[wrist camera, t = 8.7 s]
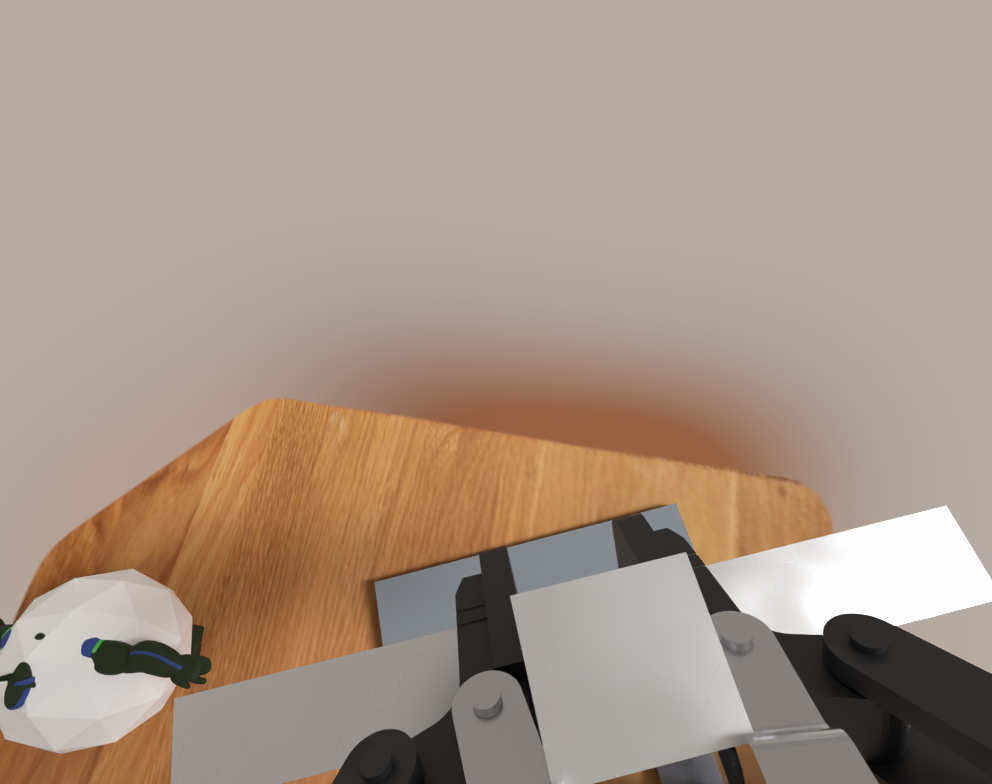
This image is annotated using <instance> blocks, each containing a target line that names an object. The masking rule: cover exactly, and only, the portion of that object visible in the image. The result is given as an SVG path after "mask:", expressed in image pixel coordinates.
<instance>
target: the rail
mask: <svg viewBox="0 0 992 784" xmlns="http://www.w3.org/2000/svg"><path fill="white" fill-rule="evenodd" d="M705 567H707V568H708V569H709V571H710V572H711V573H712V575H713V576H714V577H715V578H716V580H717V581H718V582H719V584H720V585H721V586H722V588H723V589H724V590H725V592H726V593H727V594H728V595H729V597H730V598H731V599H732V601H733V602H734V603H735V605H736V606H737V607H738V609H739V610H740V611H741V612H742V613H746V614H749V615H751V616H754V617H756V618H757V619H759V620H761V621H762V622H763V623H765V624H766V625H767V626H768V627H769V628H770V629H771V630H772V631H775V632H780V633H787V634H811V635H823V628H824V626H825V624H826V623H827V621H828V620H830V619H831V618H832V617H835V616H837V615H841V614H847V613H858V614H865V615H870V616H874V617H877V618H880V619H882V620H884V621H886V622H889V623H891V624H893V625H895V626H897V625H900V624H904V623H908V622H912V621H916V620H920V619H924V618H927V617H932V616H935V615H939V614H943V613H947V612H951V611H955V610H959V609H963V608H967V607H970V606H974V605H978V604H982V603H986V602H990V601H992V580H991V579H990V577H989V575H988V574H987V572H986V570H985V569H984V567H983V566H982V564H981V562H980V561H979V559H978V557H977V556H976V554H975V552H974V551H973V549H972V547H971V546H970V544H969V543H968V541H967V539H966V538H965V536H964V534H963V533H962V531H961V529H960V528H959V526H958V525H957V523H956V521H955V520H954V518H953V516H952V515H951V513H950V511H949V510H948V508H947V507H946V506H944V507H939V508H935V509H932V510H927V511H924V512H919V513H915V514H911V515H907V516H904V517H900V518H895V519H891V520H888V521H883V522H879V523H875V524H871V525H867V526H863V527H859V528H855V529H852V530H847V531H843V532H839V533H835V534H831V535H827V536H823V537H819V538H815V539H811V540H807V541H803V542H799V543H795V544H791V545H787V546H783V547H779V548H775V549H771V550H767V551H763V552H759V553H755V554H751V555H747V556H743V557H739V558H735V559H731V560H727V561H723V562H719V563H715V564H711V565H707V566H705ZM510 599H511V603H512V608H513V612H514V617H515V621H516V626H517V630H518V635H519V639H520V644H521V648H522V653H523V657H524V662H525V666H526V671H527V675H528V680H529V684H530V689H531V693H532V698H533V702H534V707H535V711H536V716H537V721H538V725H539V730H540V734H541V739H542V743H543V748H544V752H545V757H546V761H547V766H548V770H549V775H550V779H551V784H594V783H598V782H602V781H605V780H609V779H613V778H617V777H621V776H624V775H628V774H632V773H636V772H640V771H644V770H647V769H651V768H655V767H659V766H663V765H666V764H670V763H674V762H678V761H682V760H685V759H689V758H693V757H697V756H701V755H705V754H708V753H712V752H716V751H720V750H724V749H727V748H731V747H735V746H739V745H743V744H745V742H744V738H743V737H744V736H753V735H754V732H753V729H752V727H751V724H750V721H749V719H748V716H747V713H746V711H745V708H744V705H743V703H742V700H741V697H740V695H739V692H738V689H737V687H736V684H735V681H734V679H733V676H732V673H731V671H730V668H729V665H728V663H727V660H726V657H725V654H724V652H723V649H722V646H721V644H720V641H719V638H718V636H717V633H716V630H715V628H714V625H713V622H712V620H711V617H710V614H709V612H708V609H707V606H706V604H705V601H704V598H703V596H702V593H701V590H700V588H699V585H698V582H697V579H696V577H695V574H694V571H693V569H692V566H691V563H690V561H689V558H688V555H687V553H686V552H684V553H680V554H676V555H672V556H668V557H664V558H660V559H656V560H652V561H648V562H644V563H640V564H636V565H632V566H628V567H624V568H620V569H616V570H612V571H608V572H604V573H600V574H596V575H592V576H588V577H584V578H580V579H576V580H572V581H568V582H564V583H560V584H556V585H552V586H548V587H543V588H539V589H535V590H531V591H527V592H523V593H519V594H515V595H511V596H510ZM459 683H460V679H459V660H458V640H457V628H455V629H451V630H447V631H443V632H439V633H435V634H431V635H427V636H423V637H419V638H415V639H411V640H407V641H402V642H398V643H394V644H390V645H386V646H382V647H378V648H374V649H370V650H366V651H362V652H358V653H354V654H350V655H346V656H342V657H338V658H334V659H330V660H326V661H322V662H318V663H314V664H310V665H306V666H302V667H298V668H294V669H290V670H286V671H282V672H278V673H274V674H270V675H266V676H262V677H258V678H254V679H250V680H246V681H242V682H238V683H234V684H230V685H226V686H222V687H218V688H214V689H210V690H206V691H202V692H198V693H194V694H190V695H186V696H182V697H178V698H174V716H173V741H172V767H171V784H282V783H285V782H289V781H293V780H297V779H301V778H305V777H309V776H313V775H317V774H320V773H324V772H328V771H332V770H336V769H340V768H341V767H342V765H343V763H344V762H345V760H346V758H347V757H348V755H349V754H350V752H351V751H352V750H353V749H354V747H355V746H356V745H357V744H358V743H359V742H361V741H362V740H363V739H364V738H366V737H367V736H369V735H371V734H373V733H375V732H377V731H380V730H384V729H397V730H400V731H403V732H405V733H406V734H407V735H409V736H410V737H411V738H412V737H414V736H416V735H417V734H419V733H421V732H422V731H424V730H426V729H427V728H429V727H430V726H432V725H434V724H435V723H436V722H438V721H439V720H440V719H441V718H442V717H444V716H445V714H446V713H447V712H448V711H449V710H450V708H451V707H452V703H453V700H454V697H455V695H456V693H457V691H458V690H459Z"/></svg>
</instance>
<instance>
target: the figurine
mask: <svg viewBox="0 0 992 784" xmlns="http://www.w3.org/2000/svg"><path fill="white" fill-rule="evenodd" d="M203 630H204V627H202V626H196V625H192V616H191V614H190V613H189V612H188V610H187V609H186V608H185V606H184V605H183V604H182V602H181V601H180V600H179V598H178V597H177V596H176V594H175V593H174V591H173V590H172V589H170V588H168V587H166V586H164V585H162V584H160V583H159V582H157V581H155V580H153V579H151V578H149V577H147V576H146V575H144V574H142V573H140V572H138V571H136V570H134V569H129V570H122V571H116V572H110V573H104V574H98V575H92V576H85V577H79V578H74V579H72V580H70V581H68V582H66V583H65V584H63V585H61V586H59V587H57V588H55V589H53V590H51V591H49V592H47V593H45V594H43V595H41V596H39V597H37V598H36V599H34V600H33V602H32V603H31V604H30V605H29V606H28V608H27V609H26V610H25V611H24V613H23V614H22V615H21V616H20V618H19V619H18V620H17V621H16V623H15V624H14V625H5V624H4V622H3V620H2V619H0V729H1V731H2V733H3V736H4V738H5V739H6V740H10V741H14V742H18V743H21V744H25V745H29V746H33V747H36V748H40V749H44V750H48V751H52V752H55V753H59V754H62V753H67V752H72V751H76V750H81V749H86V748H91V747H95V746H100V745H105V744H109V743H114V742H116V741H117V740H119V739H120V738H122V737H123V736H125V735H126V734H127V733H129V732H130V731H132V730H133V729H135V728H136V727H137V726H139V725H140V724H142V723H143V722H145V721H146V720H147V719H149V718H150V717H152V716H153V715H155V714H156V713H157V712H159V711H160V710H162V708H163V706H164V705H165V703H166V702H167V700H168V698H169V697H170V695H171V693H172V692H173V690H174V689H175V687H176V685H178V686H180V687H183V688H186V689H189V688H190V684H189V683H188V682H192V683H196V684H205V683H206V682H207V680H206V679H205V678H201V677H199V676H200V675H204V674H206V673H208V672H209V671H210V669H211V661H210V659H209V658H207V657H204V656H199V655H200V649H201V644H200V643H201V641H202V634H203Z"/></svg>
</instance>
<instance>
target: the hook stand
mask: <svg viewBox="0 0 992 784" xmlns="http://www.w3.org/2000/svg"><path fill="white" fill-rule="evenodd" d="M655 769H656V772H657V775H658V779H659V782H660V784H724V782H723V779H722V776H721V773H720V770H719V767H718V764H717V761H716V759H715V756H714V753H713V752H712V753H708V754H705V755H701V756H697V757H693V758H689V759H685V760H682V761H678V762H674V763H670V764H666V765H663V766H659V767H655Z"/></svg>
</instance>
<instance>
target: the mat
mask: <svg viewBox="0 0 992 784" xmlns="http://www.w3.org/2000/svg"><path fill="white" fill-rule="evenodd" d="M637 514H638V513H637ZM641 514H642V515H643V516H644V517H645V519H646V520H647V522H648V523H649V525H650V526H651V528H652V529H653V530H654V531H656V530H660V529H664V528H669V529H670V530H672V531H674V532H675V533H677V534H679V535H680V536H682V537H684V538H685V539H686V541H687V542H688V543H689V544H690V546H691V547H692V548H693V546H692V543H691V541H690V538H689V536H688V533H687V531H686V528H685V526H684V523H683V520H682V518H681V515H680V513H679V510H678V508H677V505H676V503H675V504H672V505H668V506H664V507H660V508H656V509H653V510H649V511H645V512H641ZM633 515H634V514H633ZM507 550H508V554H509V558H510V562H511V567H512V571H513V575H514V579H515V583H516V587H517V591H518V594H519V593H523V592H527V591H531V590H535V589H539V588H543V587H548V586H552V585H556V584H560V583H564V582H568V581H572V580H576V579H580V578H584V577H588V576H592V575H596V574H600V573H604V572H608V571H612V570H616V569H619V568H618V562H617V555H616V549H615V542H614V536H613V529H612V520H610V521H607V522H603V523H599V524H595V525H591V526H588V527H584V528H580V529H576V530H572V531H568V532H565V533H561V534H557V535H553V536H549V537H546V538H542V539H538V540H534V541H530V542H526V543H523V544H519V545H515V546H511V547H507ZM693 550H694V548H693ZM480 573H481V567H480V559H479V555H477V556H473V557H469V558H465V559H461V560H458V561H454V562H450V563H446V564H442V565H439V566H435V567H431V568H427V569H423V570H419V571H416V572H412V573H408V574H404V575H400V576H396V577H393V578H389V579H385V580H381V581H377V582H374V583H375V591H376V599H377V606H378V614H379V621H380V629H381V637H382V644H383V646H386V645H390V644H394V643H398V642H402V641H407V640H411V639H415V638H419V637H423V636H427V635H431V634H435V633H439V632H443V631H447V630H451V629H455V628H457V620H456V615H457V614H456V601H455V594H456V592H457V589H458V587H459V585H460V583H461V580H462V578H464V577H468V576H472V575H476V574H480Z"/></svg>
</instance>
